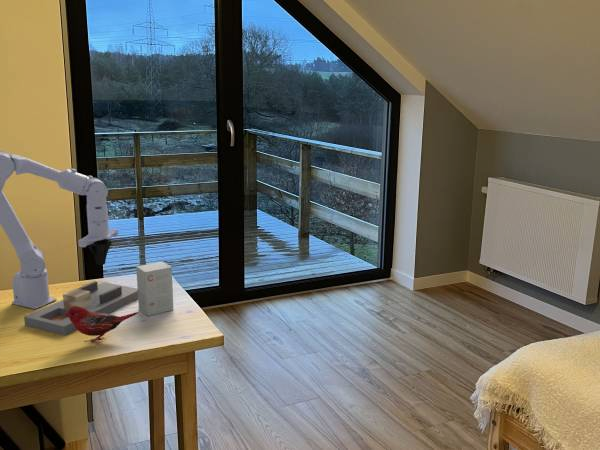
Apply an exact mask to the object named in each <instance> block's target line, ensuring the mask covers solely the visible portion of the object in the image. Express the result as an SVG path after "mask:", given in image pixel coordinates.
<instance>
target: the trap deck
mask: <svg viewBox="0 0 600 450" xmlns="http://www.w3.org/2000/svg"><path fill="white" fill-rule="evenodd" d="M77 289H81V290H86V291H90V293H91V305H90V306H88V307H86V308H84V309H86V310H88V311H90V312H95V313H105V314H110V313H113V312H115V311H117V310H119V309H120V308H122V307H125V306H127V305H128V304H130V303H133V302H134V301H136V300H138V288H136V287H131V286H127V285H126V286H125V285H121V284H118V283H117V284H116V283H112V282H106V281H104V282H101V283H99V284H98V281H95V280H94V281H92V282H89V283H87V284H85V285H82V286H80V287H78V288H77ZM68 311H69V309H66V308H64V303H63V299H62V300H60V301H57V302H55V303H52V304H50V305H47V306H45V307H43V308H41V309H38V310H36V311H33V312H31V313H29V314H26V315H25V316H23V322H24V326H25V327H30V328H34V329H37V330H42V331H46V332H50V333H53V334H56V335H61V336H67V335H69V334H71V333H73V332H76V330H77V329H76V328H75V326H74V324H73V323H72V322H71V321H70V318H69V317H67V316H65V315H66V314H67V313H68ZM77 331H78V330H77Z"/></svg>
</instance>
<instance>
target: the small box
mask: <svg viewBox="0 0 600 450" xmlns="http://www.w3.org/2000/svg"><path fill="white" fill-rule="evenodd" d="M135 268H136V282H137V283H136V284H137V289H138V299H137V300H138V310H139V311H140V312H142V313H143V314H144V315H145V316H146V317H150V316H155V315H158V314H162V313H166V312H170V311H174V293H173V292H174V291H173V290H174V289H173V270H172V266H171V265H169V264H168V263H165V262H164V261H157V262H154V263H153V262H152V263H146V264H142V265H136V267H135Z"/></svg>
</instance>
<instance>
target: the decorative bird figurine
mask: <svg viewBox="0 0 600 450" xmlns="http://www.w3.org/2000/svg"><path fill="white" fill-rule="evenodd" d="M139 313H140V312H139V311H137V312H132V313H128V314H125V315H121V316H118V315H113V314H110V313H109V314H105V313H95V312H90V311H88V310H86V309H84V308H82V307H78V306H73V307H71V308H70V309H69V311H68V313H67V314H66V315H65V316H67V317H69V318H70V321H71V322H72V323H73V324H74V326H75V328H76V329H77V331H78V332H79V333H81V334H83V335H86V336H90V337H95V338H92V339H88V340H85V341H83V342H87V343H88V342H91V343H96V342H97V341H103V340H106V339H107V338H106V337H103V336H104V335H105V334H107V333H108V332H111V331H113V330H115V329H116V328H117V327H118V326H119V325H120V324H121V323H122V322H124V321H126V320H128V319H130V318H132V317H134V316H137V314H139Z"/></svg>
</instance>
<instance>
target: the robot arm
mask: <svg viewBox="0 0 600 450" xmlns="http://www.w3.org/2000/svg"><path fill="white" fill-rule="evenodd" d="M14 172H15V175H16V176H17V175H22V174H32V175H33V176H37V177H41V178H43V179H46V180H50V181H53V182H56V183H57V185H58V187H59V188H60V189H63V190H66V191H68V192H71V193H74V194H76V195H80V196H86V217H87V230H88V231H87V232H88V234H87V235H86V236H84V237H82V238H80V239H78V241H77V242H78V247H80V248H86V247H88V248H89V249H90V252H91V253H92V255H93V257H94V258H93V259H94V260H95V263H96V265H98V266H103V265H104V266H105V265H106V260H107V255H108V252H109V249H110V247H111V246H112V242H113V241H112V240H111V238H113V237H119V229H117V228H116V229H115V228H111V229H109V214H108V204H107V197H108V194H109V191H108V188H107V185H106V184H105V183H104V182H103V181H102V180H100V179H98V177H93V175H85V174H82V173H79V172H77V169H75V168H71V169H69V168H66V169H63V170H58V169H55V168H53V167H51V166H48V165H46V164H44V163H41V162H38V161H36V160H33V159H30V158H28V157H25V156H21V155H18V154H14V153H11V154H10V153H9V152H7V151H4V150H0V226H1V227H2V230H3V231H4V233H5V235H6V236H7V239H8V240H9V242H10V243H11V244H12V245H11V246H12V247H13V248H14V251H15V253H16V255H17V257H18V260H19V262H20V270H19V271H18V272H16V273H15V274H14V276H13V278H12V283H11V284H12V292H13V301H11V304H13V305H15V306H16V305H17V306H21V307H24V308H30V309H35V310H36V309H39V308H41V307H44V306H46V305H49V304H51V303H53V302H56V301H57V300H58V298H57V297H52V296H50V287H49V276H48V269H46V262H45V260H44V258H45V256H44V255H45V254H44V253H43V251H42V250H41V249H40V248H39V247H37V246H36V245H35V244H34V242H33V241H32V239H31V238H30V236H29V235H28V233H27V231H26V229H25V227H24V226H23V224H22V223H21V221H20V219H19V217H18V215H17V214H16V212H15V210H14V208H13V206H12V204H11V203H10V202H9V200H8V198H7V196H6V194H5V193H4V191H3V188H4V187H5V184H6V182H7V180H8V179H9V178H10V177H11V176H12V175H13V173H14Z"/></svg>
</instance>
